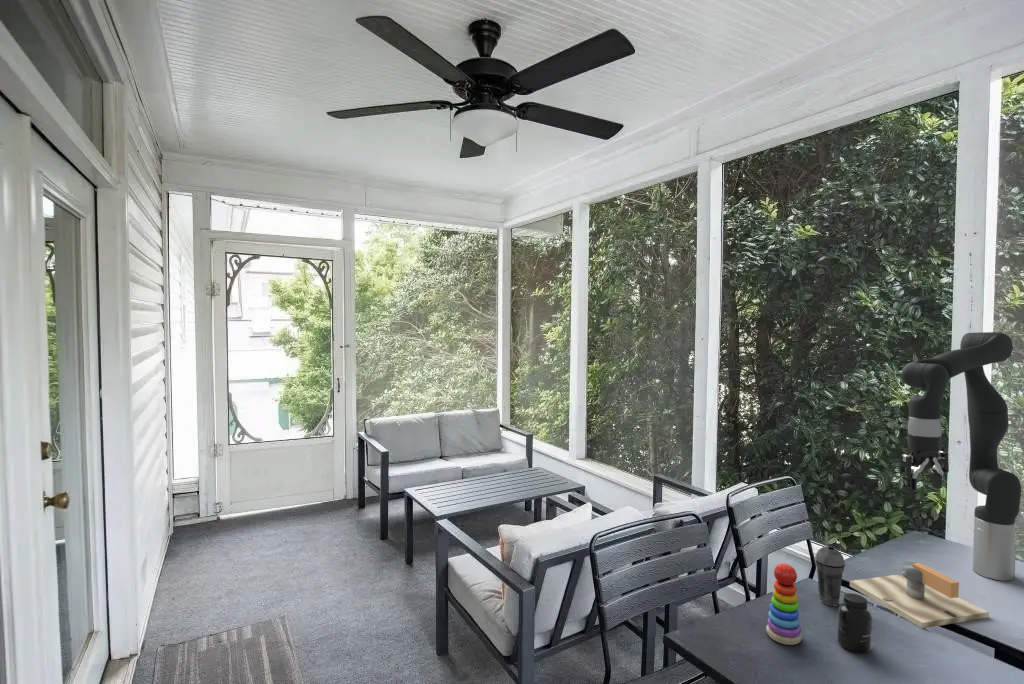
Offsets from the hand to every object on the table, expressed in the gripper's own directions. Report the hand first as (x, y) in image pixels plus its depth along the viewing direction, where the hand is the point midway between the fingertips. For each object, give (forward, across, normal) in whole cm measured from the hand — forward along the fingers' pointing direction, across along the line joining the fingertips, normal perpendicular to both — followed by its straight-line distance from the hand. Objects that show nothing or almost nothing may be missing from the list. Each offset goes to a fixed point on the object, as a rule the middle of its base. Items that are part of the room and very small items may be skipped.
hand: (924, 488), depth 150 cm
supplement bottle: (+30, +40, +16) cm, 53 cm away
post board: (+31, +6, +3) cm, 31 cm away
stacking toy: (+30, +54, +9) cm, 62 cm away
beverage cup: (+30, +30, -2) cm, 43 cm away
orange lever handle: (+24, +6, +7) cm, 25 cm away
